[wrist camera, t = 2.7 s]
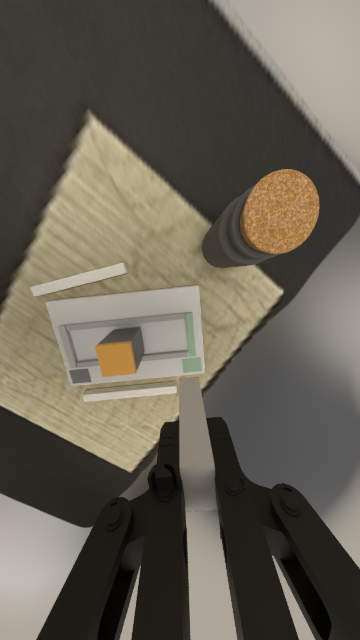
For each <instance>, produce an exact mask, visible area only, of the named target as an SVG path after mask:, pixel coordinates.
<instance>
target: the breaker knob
mask: <svg viewBox="0 0 360 640" xmlns="http://www.w3.org/2000/svg"><path fill="white" fill-rule="evenodd" d="M95 349H96V353H97V357H98V361H99V365H100V369H101V373H102V377H110V376H120V375H130V374H136V372H137V369H138V367H139V365H140V362H141V360H142V357H143V355H144V352H145V351H144V345H143V339H142V333H141V327H135V328H125V329H116V330H113V331H111V332H110V333H109V334H108V335H107V336H106V337H105V338H104V339H103V340H101V341H100V342H99V343H98V344H97V345H96V346H95Z"/></svg>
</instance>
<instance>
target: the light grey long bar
mask: <svg viewBox="0 0 360 640" xmlns="http://www.w3.org/2000/svg"><path fill="white" fill-rule="evenodd" d="M172 393H177V385H176V381H171V382H161V383H151V384H141V385H131V386H120V387H110V388H100V389H90V390H86V391H85V393H84V394H83V398H84V402H90V401H100V400H110V399H121V398H131V397H141V396H151V395H162V394H172Z"/></svg>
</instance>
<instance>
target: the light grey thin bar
mask: <svg viewBox="0 0 360 640" xmlns="http://www.w3.org/2000/svg"><path fill="white" fill-rule="evenodd" d="M126 273H129V271H128V268H127V265H126V263H120V264H116V265H113V266H109V267H105V268H101V269H97V270H93V271H90V272H86V273H82V274H78V275H74V276H71V277H67V278H63V279H59V280H55V281H52V282H48V283H44V284H40V285H36V286H33V287H29V288H30V290H31V292H32V294H33V296H34V297H36V296H41V295H45V294H49V293H53V292H57V291H61V290H65V289H68V288H72V287H76V286H80V285H84V284H88V283H92V282H95V281H99V280H103V279H107V278H111V277H115V276H119V275H122V274H126Z"/></svg>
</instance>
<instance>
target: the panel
mask: <svg viewBox="0 0 360 640" xmlns="http://www.w3.org/2000/svg"><path fill="white" fill-rule="evenodd" d="M45 303H46V307H47V310H48V313H49V316H50V319H51V323H52V326H53V329H54V332H55V336H56V339H57V342H58V345H59V349H60V352H61V355H62V358H63V362H64V365H65V368H66V371H67V375H68V378H69V381H70V384H71V386H79V385H89V384H100V383H110V382H120V381H130V380H140V379H150V378H160V377H171V376H181V375H191V374H201V373H205V364H204V350H203V337H202V323H201V309H200V295H199V286H198V285H190V286H181V287H171V288H162V289H152V290H143V291H133V292H124V293H114V294H104V295H95V296H85V297H76V298H66V299H57V300H51V301H47V302H45ZM135 327H141V333H142V339H143V345H144V351H145V352H144V355H143V357H142V360H141V362H140V365H139V367H138V369H137V372H136V374H130V375H120V376H110V377H102V373H101V369H100V365H99V361H98V357H97V353H96V349H95V346H96V345H97V344H98V343H99V342H100V341H101V340H103V339H104V338H105V337H106V336H107V335H108V334H109V333H110V332H111V331H113V330H116V329H125V328H135Z"/></svg>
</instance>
